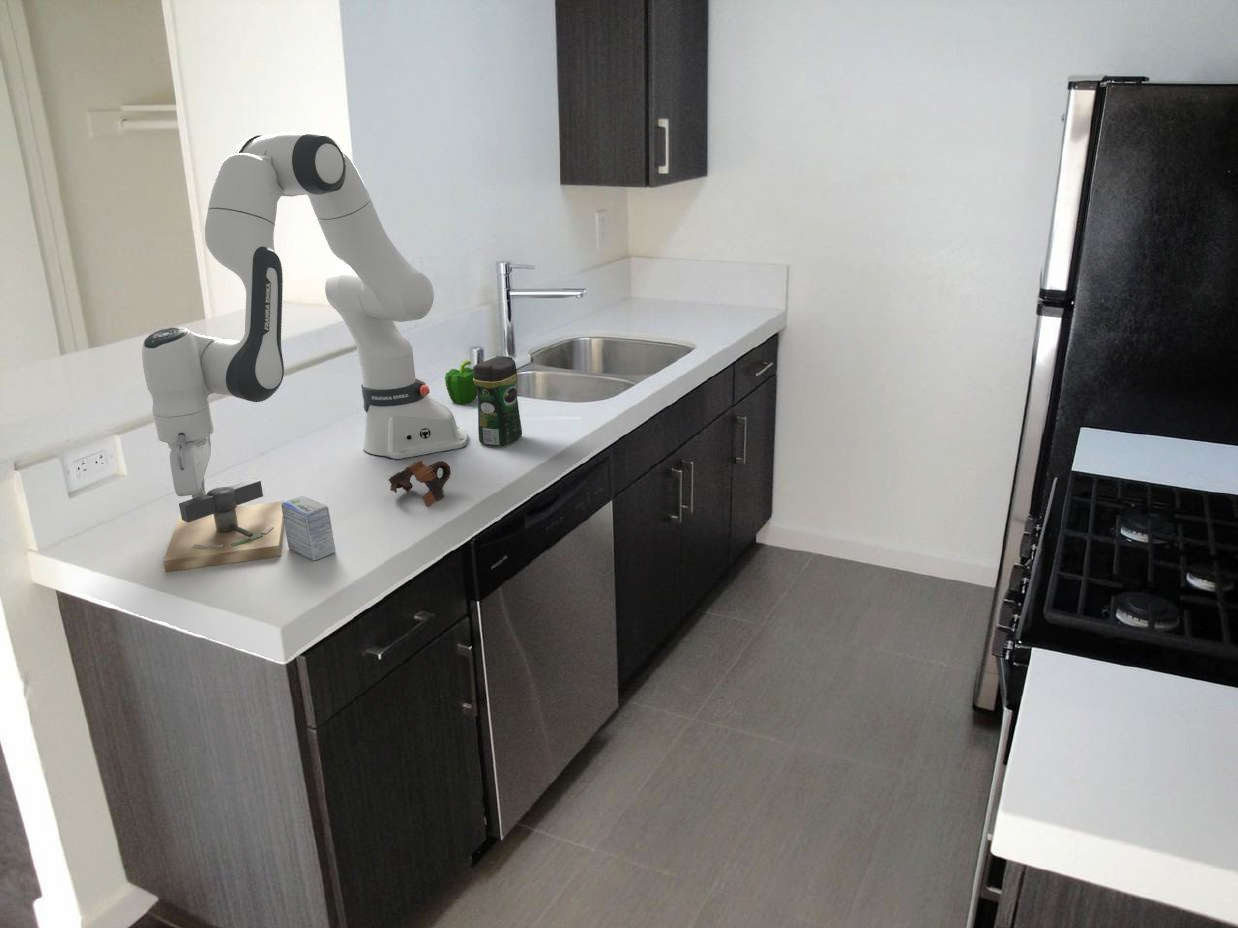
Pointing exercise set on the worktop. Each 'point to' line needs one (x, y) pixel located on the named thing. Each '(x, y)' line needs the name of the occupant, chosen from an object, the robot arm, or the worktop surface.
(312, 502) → the medicine box
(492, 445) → the coffee jar
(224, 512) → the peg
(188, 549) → the tuner board
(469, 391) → the bell pepper
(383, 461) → the worktop surface
